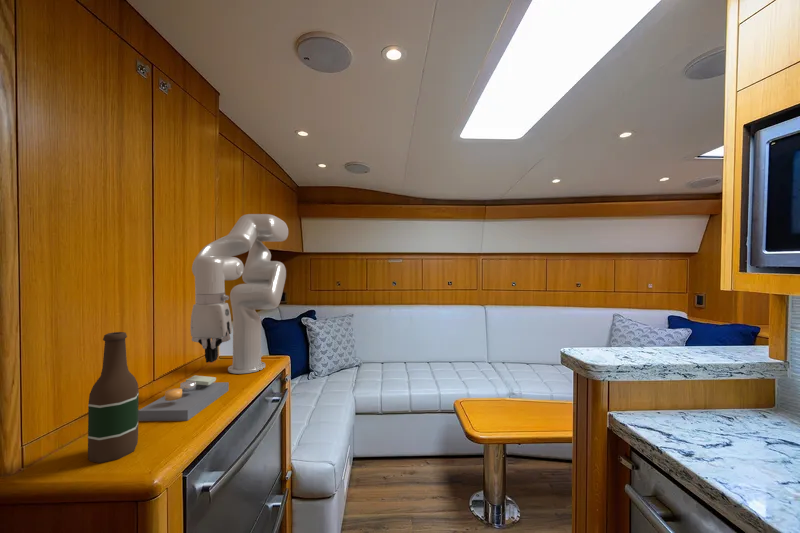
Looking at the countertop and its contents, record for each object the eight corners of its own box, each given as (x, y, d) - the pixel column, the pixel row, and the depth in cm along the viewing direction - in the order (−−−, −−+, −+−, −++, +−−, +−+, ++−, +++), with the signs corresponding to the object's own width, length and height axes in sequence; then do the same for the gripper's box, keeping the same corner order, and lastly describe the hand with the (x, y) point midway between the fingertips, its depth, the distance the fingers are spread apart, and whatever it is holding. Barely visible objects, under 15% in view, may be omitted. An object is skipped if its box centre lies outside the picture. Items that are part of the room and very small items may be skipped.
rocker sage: (194, 378, 98) (194, 375, 98) (215, 380, 98) (216, 377, 98) (185, 383, 94) (186, 379, 94) (208, 385, 94) (208, 381, 94)
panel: (188, 390, 100) (188, 379, 100) (228, 390, 100) (228, 379, 100) (137, 421, 80) (137, 406, 80) (187, 420, 80) (187, 406, 80)
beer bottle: (92, 469, 61) (93, 338, 61) (83, 454, 65) (84, 333, 66) (144, 450, 67) (145, 332, 67) (132, 438, 72) (133, 328, 72)
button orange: (171, 395, 86) (171, 388, 86) (185, 395, 86) (185, 388, 86) (161, 400, 82) (161, 393, 82) (176, 400, 82) (176, 393, 82)
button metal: (185, 387, 92) (185, 380, 92) (198, 387, 92) (198, 380, 92) (177, 391, 88) (177, 385, 88) (190, 391, 88) (190, 385, 88)
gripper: (241, 297, 101) (242, 356, 101) (192, 297, 100) (193, 357, 101) (229, 301, 93) (230, 365, 94) (176, 301, 93) (177, 365, 94)
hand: (211, 360), depth 97 cm, fingers closed
